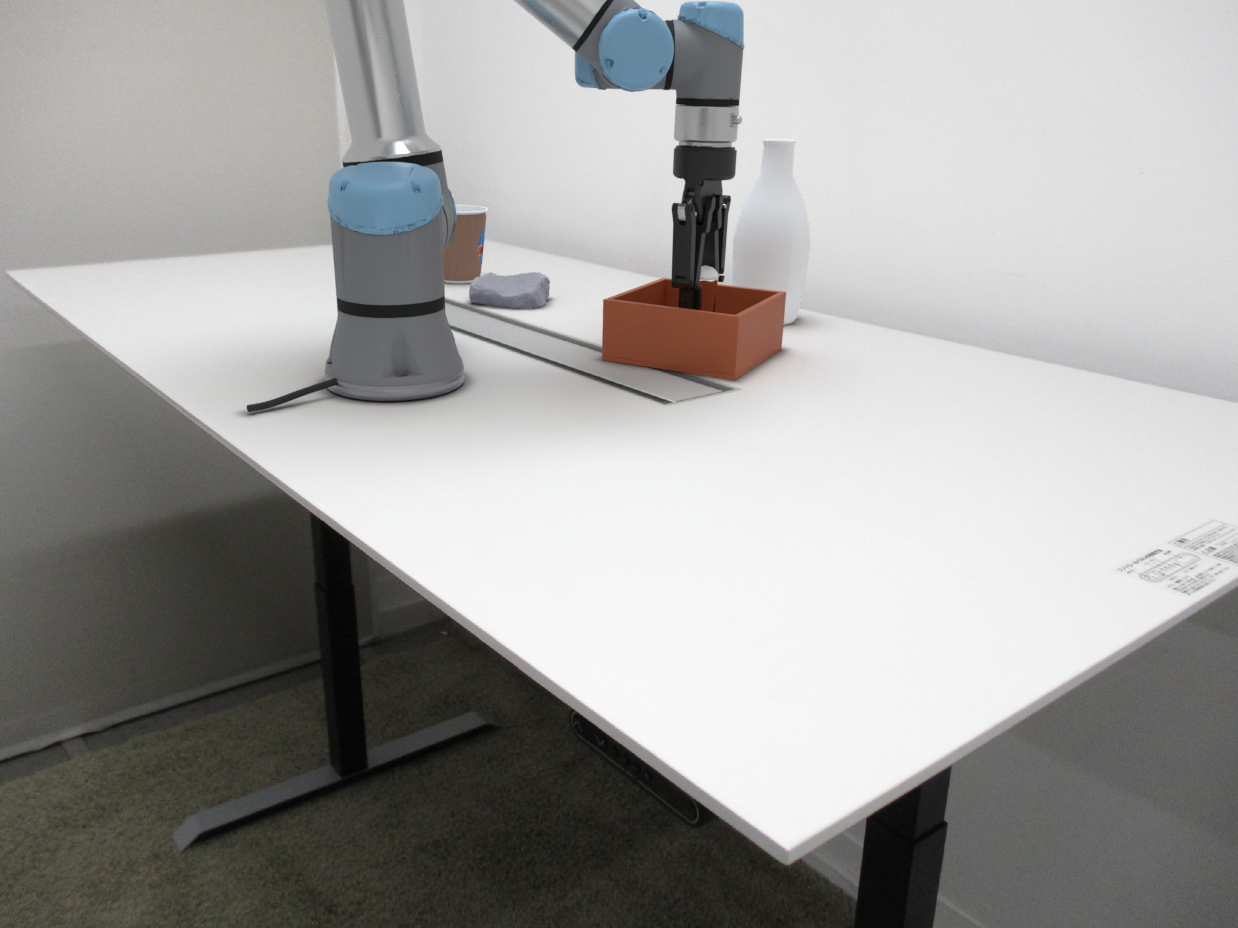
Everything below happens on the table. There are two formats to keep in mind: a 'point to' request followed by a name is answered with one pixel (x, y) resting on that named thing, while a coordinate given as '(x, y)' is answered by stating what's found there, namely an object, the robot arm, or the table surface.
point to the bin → (693, 330)
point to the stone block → (511, 290)
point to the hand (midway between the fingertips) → (695, 336)
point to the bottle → (773, 230)
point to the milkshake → (708, 287)
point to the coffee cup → (465, 245)
